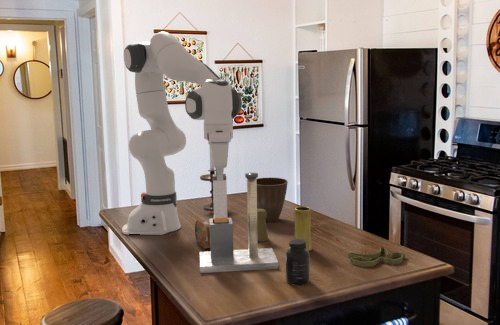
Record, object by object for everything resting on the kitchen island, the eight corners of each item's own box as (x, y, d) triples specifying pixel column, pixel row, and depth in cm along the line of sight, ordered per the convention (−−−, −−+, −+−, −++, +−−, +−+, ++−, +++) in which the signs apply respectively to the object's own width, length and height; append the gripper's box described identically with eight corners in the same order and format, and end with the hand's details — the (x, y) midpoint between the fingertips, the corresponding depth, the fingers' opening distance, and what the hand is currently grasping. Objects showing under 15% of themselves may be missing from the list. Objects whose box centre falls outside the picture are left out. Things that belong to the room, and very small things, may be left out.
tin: (194, 240, 203) (193, 217, 201) (202, 238, 204) (202, 216, 202) (207, 252, 189) (206, 228, 187) (215, 251, 190) (215, 227, 188)
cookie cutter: (387, 251, 187) (387, 245, 187) (411, 262, 176) (411, 256, 176) (341, 259, 180) (341, 253, 179) (363, 271, 169) (363, 265, 169)
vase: (313, 247, 191) (313, 206, 189) (309, 252, 186) (309, 211, 183) (296, 245, 193) (296, 205, 191) (291, 251, 188) (291, 210, 185)
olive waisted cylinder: (266, 241, 199) (266, 211, 197) (250, 241, 200) (249, 211, 198) (269, 236, 204) (269, 207, 203) (253, 236, 206) (252, 207, 204)
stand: (200, 272, 170) (196, 180, 165) (199, 257, 183) (196, 171, 178) (278, 268, 172) (277, 177, 167) (272, 253, 186) (270, 168, 181)
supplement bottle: (284, 277, 165) (284, 238, 163) (307, 276, 165) (307, 237, 163) (287, 286, 158) (287, 245, 156) (311, 285, 158) (311, 244, 156)
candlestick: (196, 208, 248) (193, 130, 242) (215, 203, 255) (212, 127, 249) (211, 212, 240) (209, 131, 234) (230, 207, 247) (228, 129, 242)
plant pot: (295, 220, 225) (295, 181, 223) (265, 226, 217) (264, 186, 214) (273, 212, 238) (272, 176, 235) (244, 218, 229) (243, 180, 227)
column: (214, 240, 173) (212, 176, 170) (214, 236, 178) (212, 174, 174) (228, 239, 174) (226, 176, 170) (227, 235, 178) (225, 173, 175)
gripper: (207, 129, 180) (208, 171, 182) (209, 137, 160) (210, 184, 162) (226, 128, 180) (227, 170, 183) (231, 136, 160) (231, 183, 163)
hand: (219, 177), depth 172 cm, fingers open, 8 cm apart
